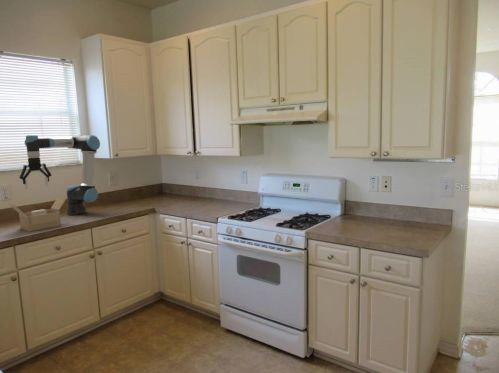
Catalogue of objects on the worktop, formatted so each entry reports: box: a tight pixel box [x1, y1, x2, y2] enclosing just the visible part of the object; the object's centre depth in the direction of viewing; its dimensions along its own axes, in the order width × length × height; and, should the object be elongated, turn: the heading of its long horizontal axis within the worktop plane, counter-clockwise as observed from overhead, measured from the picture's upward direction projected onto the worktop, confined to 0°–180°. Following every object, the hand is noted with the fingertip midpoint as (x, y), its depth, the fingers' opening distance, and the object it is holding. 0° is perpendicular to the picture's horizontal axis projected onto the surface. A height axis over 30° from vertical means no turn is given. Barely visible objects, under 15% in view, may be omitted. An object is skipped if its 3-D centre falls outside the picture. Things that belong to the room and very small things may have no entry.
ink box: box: [30, 208, 47, 216], centre depth 273 cm, size 9×5×12 cm, turn 141°
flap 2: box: [50, 196, 67, 211], centre depth 282 cm, size 1×13×10 cm
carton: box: [18, 208, 62, 233], centre depth 273 cm, size 21×17×10 cm
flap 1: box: [8, 203, 27, 216], centre depth 261 cm, size 1×13×10 cm
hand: (36, 187), depth 270 cm, fingers open, 13 cm apart
